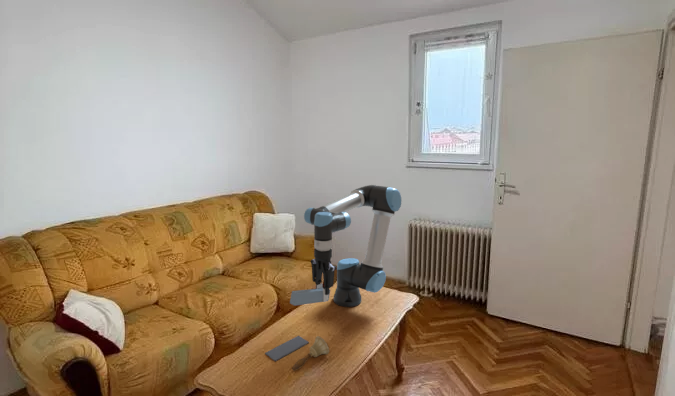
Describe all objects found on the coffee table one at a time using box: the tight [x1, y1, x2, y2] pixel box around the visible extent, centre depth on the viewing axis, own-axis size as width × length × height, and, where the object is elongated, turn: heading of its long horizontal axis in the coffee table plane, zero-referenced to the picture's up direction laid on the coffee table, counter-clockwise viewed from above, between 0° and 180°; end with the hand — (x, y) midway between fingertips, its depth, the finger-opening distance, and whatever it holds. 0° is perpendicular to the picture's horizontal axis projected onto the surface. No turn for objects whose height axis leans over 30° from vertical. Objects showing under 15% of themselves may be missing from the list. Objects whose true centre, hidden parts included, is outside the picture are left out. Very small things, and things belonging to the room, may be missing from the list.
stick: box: [289, 287, 331, 306], centre depth 156 cm, size 20×3×5 cm, turn 138°
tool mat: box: [264, 335, 310, 362], centre depth 158 cm, size 18×7×1 cm, turn 135°
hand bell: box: [291, 335, 330, 371], centre depth 149 cm, size 8×8×16 cm
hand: (322, 299), depth 162 cm, fingers closed on stick, 3 cm apart
